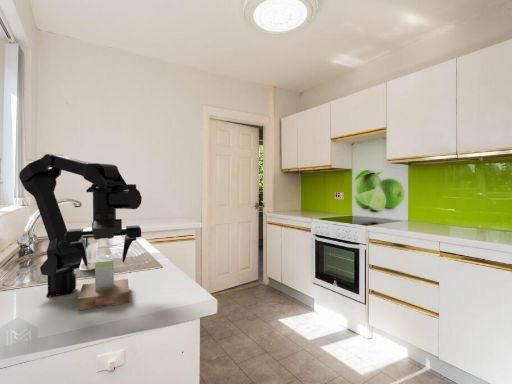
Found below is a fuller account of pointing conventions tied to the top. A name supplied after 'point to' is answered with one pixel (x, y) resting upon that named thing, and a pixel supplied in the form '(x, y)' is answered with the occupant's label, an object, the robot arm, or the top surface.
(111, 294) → the walnut riser
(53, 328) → the top surface
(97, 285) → the metal column
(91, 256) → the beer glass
